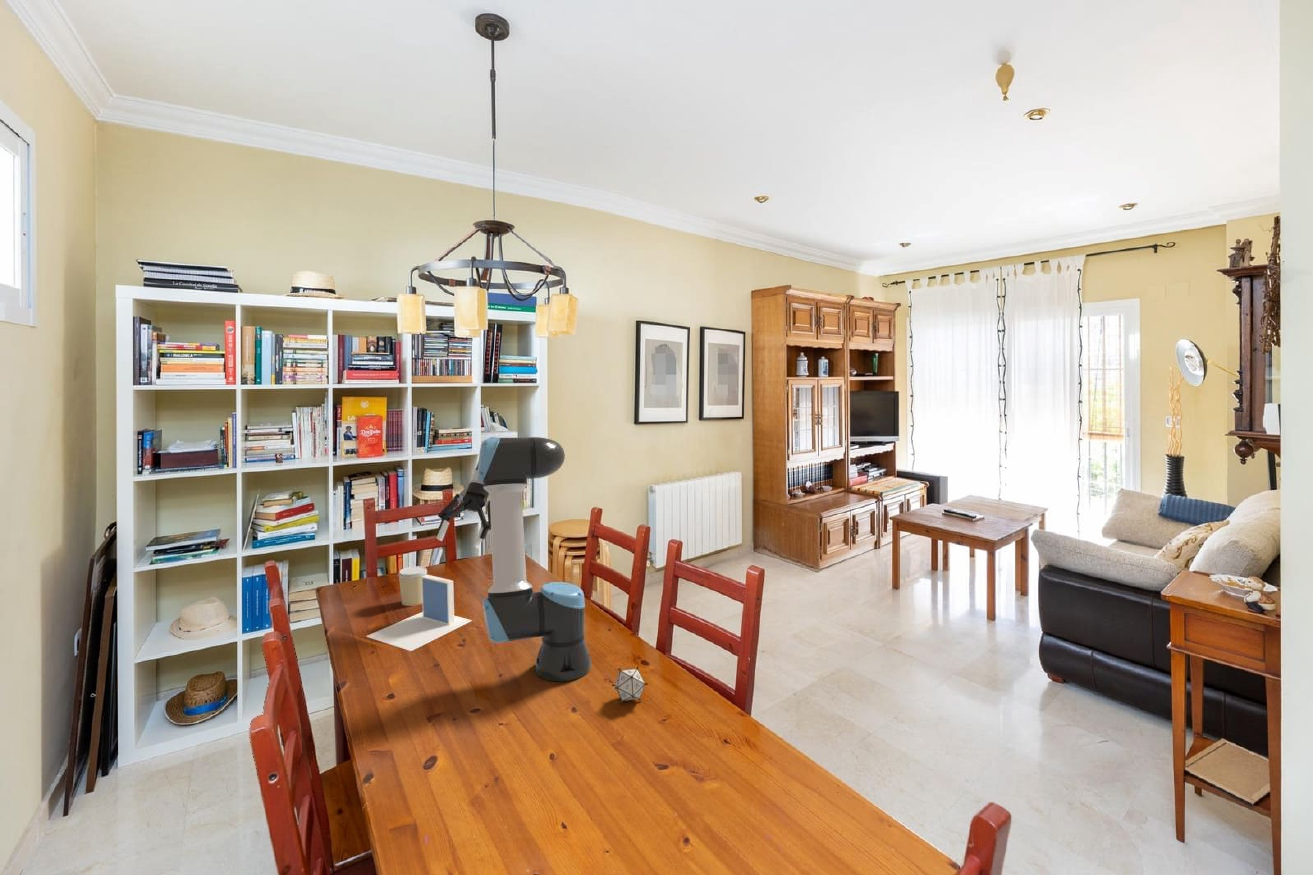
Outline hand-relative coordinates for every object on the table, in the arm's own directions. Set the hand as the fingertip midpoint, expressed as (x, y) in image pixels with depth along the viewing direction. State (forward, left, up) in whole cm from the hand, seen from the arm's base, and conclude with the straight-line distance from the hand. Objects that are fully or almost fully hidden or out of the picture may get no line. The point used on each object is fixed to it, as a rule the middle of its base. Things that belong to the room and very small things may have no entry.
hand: (457, 543), depth 189 cm
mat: (+2, +14, -25) cm, 28 cm away
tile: (+2, +7, -24) cm, 25 cm away
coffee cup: (+22, 0, -25) cm, 33 cm away
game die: (-76, +17, -25) cm, 82 cm away
